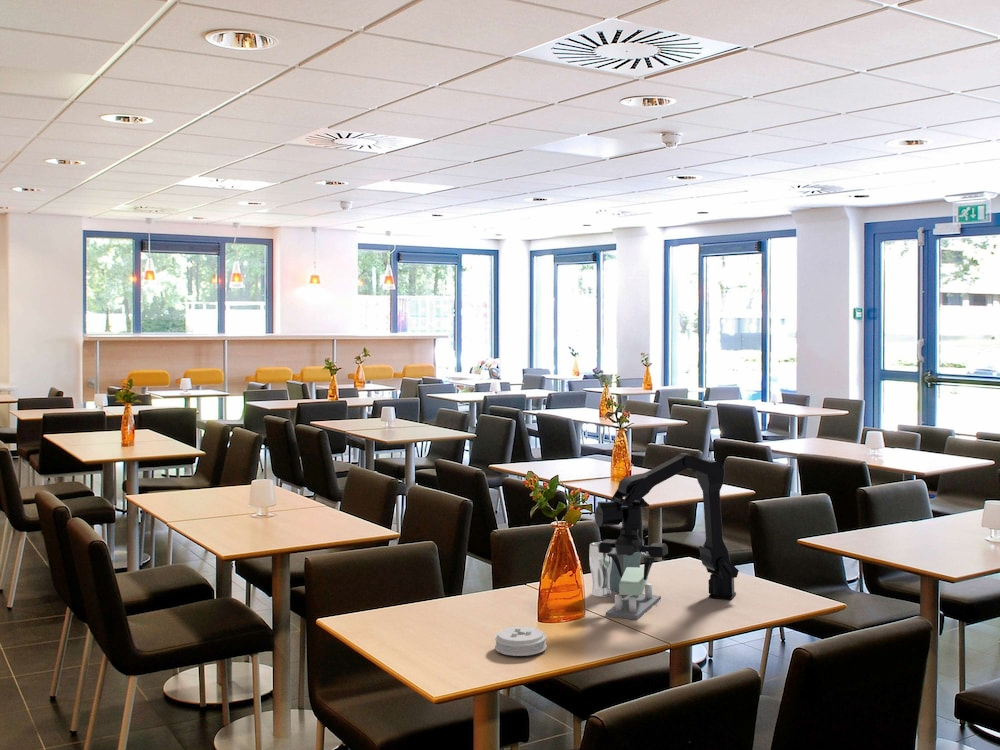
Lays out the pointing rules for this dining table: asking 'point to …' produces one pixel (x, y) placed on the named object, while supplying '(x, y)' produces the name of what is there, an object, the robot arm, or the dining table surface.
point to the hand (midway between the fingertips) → (633, 578)
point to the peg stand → (633, 604)
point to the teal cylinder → (628, 562)
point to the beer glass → (600, 571)
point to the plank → (632, 581)
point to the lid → (520, 641)
